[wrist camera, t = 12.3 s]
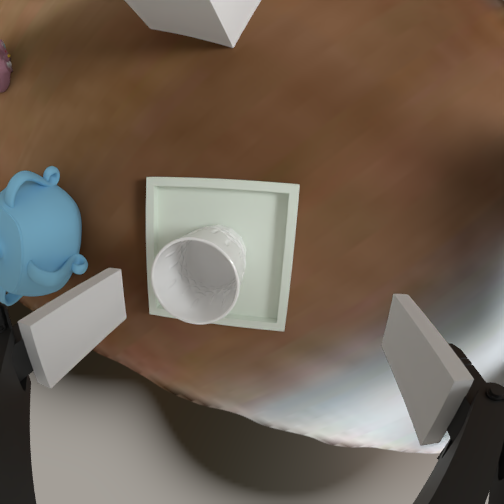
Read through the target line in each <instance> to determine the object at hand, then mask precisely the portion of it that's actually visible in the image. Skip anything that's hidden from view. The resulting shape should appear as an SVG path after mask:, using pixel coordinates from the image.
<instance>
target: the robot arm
mask: <svg viewBox="0 0 504 504" xmlns="http://www.w3.org/2000/svg"><path fill="white" fill-rule="evenodd" d="M125 319H126V310H125V302H124V293H123V283H122V272H121V269H117V268H107V269H106V270H104V271H102V272H100V273H98V274H97V275H95V276H93V277H91V278H90V279H88V280H86V281H84V282H83V283H81V284H79V285H77V286H76V287H74V288H72V289H71V290H69V291H67V292H65V293H64V294H62V295H60V296H59V297H57V298H55V299H54V300H52V301H50V302H49V303H47V304H45V305H44V306H42V307H40V308H39V309H37V310H35V311H34V312H32V313H31V314H29V315H28V316H26V317H24V318H22V319H21V320H19V321H18V323H17V324H15V325H14V326H12V324H11V320H10V317H9V313H8V309H7V306H6V305H5V304H3V303H0V504H36V499H35V493H34V485H33V476H32V466H31V453H30V452H31V451H30V390H31V381H30V378H29V374H30V373H31V372H32V371H34V374H35V377H36V379H37V382H38V383H39V384H41V385H43V386H45V387H47V388H49V389H51V388H52V387H53V386H54V385H55V384H56V383H57V382H58V381H59V380H60V379H61V378H62V377H64V376H65V375H66V374H67V373H68V372H69V371H70V370H71V369H72V368H73V367H74V366H75V365H76V364H77V363H78V362H79V361H80V360H81V359H83V358H84V357H85V356H86V355H87V354H88V353H89V352H90V351H91V350H92V349H93V348H94V347H95V346H97V345H98V344H99V343H100V342H101V341H102V340H103V339H104V338H105V337H106V336H107V335H108V334H110V333H111V332H112V331H113V330H114V329H115V328H116V327H117V326H118V325H119V324H121V323H122V322H123V321H124V320H125ZM381 346H382V348H383V351H384V353H385V355H386V358H387V360H388V362H389V365H390V367H391V369H392V372H393V374H394V377H395V379H396V382H397V384H398V387H399V389H400V391H401V394H402V397H403V399H404V402H405V404H406V407H407V409H408V412H409V415H410V417H411V420H412V423H413V426H414V428H415V431H416V434H417V437H418V440H419V442H420V445H427V444H434V443H439V442H440V441H441V439H442V438H443V436H444V434H445V433H446V431H448V433H449V435H450V440H449V441H448V443H447V445H446V446H445V448H444V449H443V451H442V452H441V453H440V455H439V456H438V458H437V459H439V460H438V462H437V464H436V466H435V468H434V470H433V471H432V473H431V475H430V477H429V479H428V480H427V482H426V484H425V485H424V487H423V489H422V490H421V492H420V493H419V495H418V497H417V498H416V500H415V501H414V503H413V504H485V501H486V499H487V496H488V493H489V490H490V493H489V502H488V504H504V387H503V386H501V385H499V384H496V383H486V382H485V381H484V379H483V378H482V376H481V375H480V374H479V372H478V371H477V370H476V368H475V367H474V366H473V365H471V364H472V363H471V362H470V361H469V359H467V357H466V355H465V354H464V353H463V352H462V350H461V349H459V348H458V347H456V346H455V345H453V344H448V343H447V342H446V340H445V339H444V338H443V337H442V335H441V334H440V333H439V331H438V330H437V329H436V328H435V326H434V325H433V324H432V323H431V321H430V320H429V319H428V318H427V317H426V315H425V314H424V313H423V312H422V310H421V309H420V308H419V307H418V306H417V304H416V303H415V302H414V301H413V300H412V298H411V297H410V296H409V295H408V294H393V298H392V303H391V307H390V312H389V316H388V320H387V324H386V328H385V332H384V336H383V340H382V344H381Z"/></svg>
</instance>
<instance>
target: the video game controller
mask: <svg viewBox="0 0 504 504" xmlns="http://www.w3.org/2000/svg"><path fill="white" fill-rule="evenodd" d="M11 66H12V63H11V62H10V54H8V52H7V50H6V47H5V44H4V42H3V41H2V40H0V92H4V91H6V90H7V88H8V86H9V84H10V73H11V72H13V70H12V67H11Z"/></svg>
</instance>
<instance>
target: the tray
mask: <svg viewBox="0 0 504 504" xmlns="http://www.w3.org/2000/svg"><path fill="white" fill-rule="evenodd" d="M299 186H300V185H299V184H291V183H280V182H267V181H253V180H237V179H218V178H192V177H147V180H146V258H147V282H148V298H149V312H150V314H152V315H158V316H164V317H171V318H176V317H174V316H172V315H171V314H170V313H169V312H167V311H166V310H165V309H164V308H163V306H162V305H161V304H160V303H159V301H158V299H157V298H156V296H155V293H154V291H153V288H152V283H151V269H152V265H153V262H154V259H155V257H156V255H157V254H158V252H159V251H160V250H161V249H162V248H163V247H164V246H165V245H167V244H168V243H170V242H172V241H174V240H176V239H178V238H180V237H182V236H184V235H186V234H188V233H190V232H192V231H195V230H197V229H200V228H203V227H205V226H210V225H216V224H220V225H223V226H227V227H230V228H232V229H233V230H234V231H236V232H237V233H238V234H239V235H240V236H241V237H242V239H243V241H244V244H245V246H246V248H247V256H246V266H245V272H244V276H243V280H242V284H241V287H240V291H239V295H238V299H237V301H236V303H235V305H234V307H233V308H232V310H231V311H230V312H229V313H228V314H227V315H226V316H225V317H223V318H222V319H220V320H218V321H216V322H213V323H212V324H220V325H228V326H236V327H245V328H254V329H264V330H274V331H284V330H285V322H286V314H287V306H288V298H289V289H290V280H291V271H292V262H293V252H294V242H295V232H296V221H297V210H298V198H299Z"/></svg>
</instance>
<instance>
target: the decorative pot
mask: <svg viewBox="0 0 504 504" xmlns="http://www.w3.org/2000/svg"><path fill="white" fill-rule="evenodd" d="M59 178H60V173H59V170H58V169H57V168H56V167H54V166H49V167H47V168H46V170H45V171H44V174H43V177H41V176H39V175H38V174H36V173H33V172H31V171H20V172H18V173H16V174H15V175H14V176H13V177H12V178H11V180H10V181H9V183H8V185H7V187H6V188H5V189H4V190H2V191H1V192H0V302H1V303H3V304H5V305H6V306H10V305H13V304H14V303H16V302H17V301H18V300H19V299H20V298H21V297H22V296H43V295H47V294H50V293H53V292H56V291H58V290H60V289H61V288H62V287H63V286H64V285H65V284H66V283H67V282H68V280H69V279H70V277H71V275H72V273H73V272H74V273H75V274H83V273H85V271H86V270H87V268H88V263H87V260H86V259H85V257H84V256H82V255H81V254H79V251H80V246H81V235H82V222H81V214H80V211H79V208H78V206H77V204H76V203H75V201H74V200H73V198H72V197H71V196H70V195H68V194H67V193H66V192H65V191H64V190H63V189H62V188H60V187H59V186H58V185H57V183H58V182H59ZM6 291H7V292H9V293H8V294H7V295H6Z"/></svg>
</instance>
